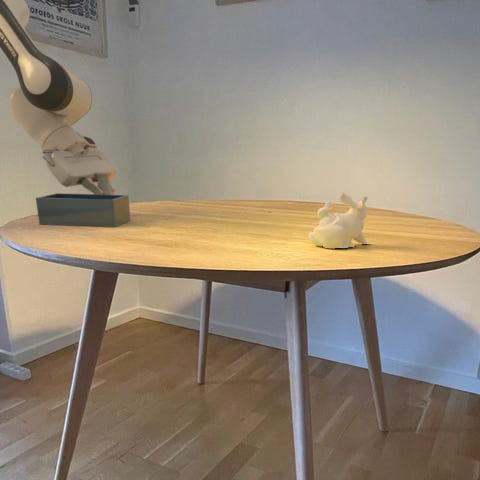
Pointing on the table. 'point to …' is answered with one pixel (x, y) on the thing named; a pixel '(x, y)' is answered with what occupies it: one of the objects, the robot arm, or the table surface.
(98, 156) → the robot arm
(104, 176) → the flask
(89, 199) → the open box
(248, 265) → the table surface
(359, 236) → the rabbit figurine
